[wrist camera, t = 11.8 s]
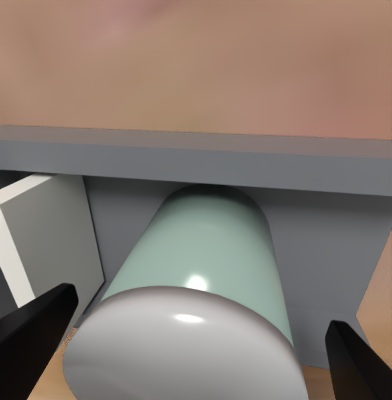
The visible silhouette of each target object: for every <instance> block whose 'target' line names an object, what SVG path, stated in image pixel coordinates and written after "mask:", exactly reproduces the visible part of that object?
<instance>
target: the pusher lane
mask: <svg viewBox="0 0 392 400" xmlns="http://www.w3.org/2000/svg"><path fill="white" fill-rule="evenodd" d="M37 172H46V173H60V174H75V175H82V176H83V181H84V186H85V191H86V195H87V200H88V205H89V210H90V215H91V219H92V224H93V229H94V234H95V239H96V243H97V248H98V253H99V258H100V263H101V267H102V272H103V277H104V282H103V283H102V285H101V286H100V288H99V289H98V291H97V292H96V294H95V295H94V297H93V298H92V300H91V301H90V303H89V304H88V305H87V307H86V308H85V310H84V311H83V313H82V314H81V316H80V317H79V319H78V320H77V322H76V323H75V325H74V326H73V327H74V328H79V327H80V325H81V324H82V322H83V320H84V319H85V317H86V316H87V315H88V313H89V312H90V311H91V309H92V308H93V307H95V306H96V305H97V304H98V303H99V302H100V300H101V299H102V297H103V296H104V294H105V292H106V291H107V289H108V288H109V286H110V284H111V283H112V281H113V280H114V278H115V276H116V275H117V273H118V272H119V270H120V268H121V267H122V265H123V264H124V262H125V260H126V259H127V257H128V256H129V254H130V252H131V251H132V249H133V248H134V246H135V244H136V243H137V241H138V240H139V238H140V236H141V235H142V233H143V232H144V230H145V228H146V227H147V225H148V224H149V222H150V220H151V219H152V217H153V216H154V214H155V212H156V211H157V209H158V208H159V206H160V205H161V203H162V202H163V201H164V200H165V199H166V198H167V197H168V196H169V195H171V194H172V193H173V192H175V191H177V190H179V189H181V188H183V187H186V186H189V185H193V184H199V183H207V184H222V185H226V186H229V187H232V188H234V189H237V190H239V191H241V192H243V193H244V194H246V195H247V196H249V197H250V198H251V199H253V200H254V201H255V202H256V203H257V204H258V205H259V207H260V208H261V209H262V210H263V212H264V214H265V215H266V217H267V220H268V222H269V226H270V230H271V235H272V240H273V245H274V250H275V255H276V260H277V265H278V270H279V275H280V280H281V285H282V290H283V295H284V300H285V306H286V311H287V316H288V321H289V326H290V331H291V336H292V341H293V346H294V349H295V350H296V352H297V354H298V357H299V359H300V362H301V365H304V366H310V367H317V368H323V369H329V370H330V368H329V362H328V357H327V351H326V346H325V335H326V332H327V329H328V327H329V324H330V321H331V320H340V321H345V322H347V323H348V324H349V325H350V326H351V327H352V328H353V329H354V330H355V331H356V333H357V334H358V335H359V336H360V337H361V338H362V339H363V340H364V341H365V342H366V343H367V344H368V345H369V346H370V344H369V342H368V340H367V338H366V336H365V334H364V332H363V330H362V328H361V326H360V324H359V321H358V319H357V317H356V313H357V311H358V308H359V306H360V303H361V301H362V299H363V296H364V294H365V292H366V289H367V287H368V284H369V282H370V280H371V277H372V275H373V272H374V270H375V268H376V265H377V263H378V260H379V258H380V256H381V253H382V251H383V249H384V246H385V244H386V241H387V239H388V237H389V234H390V232H391V229H392V140H373V139H347V138H321V137H296V136H270V135H244V134H218V133H192V132H167V131H141V130H115V129H89V128H63V127H38V126H12V125H0V189H2V188H4V187H7V186H9V185H11V184H13V183H15V182H18V181H20V180H22V179H24V178H26V177H28V176H31V175H33V174H35V173H37ZM16 309H18V306H17V304H16V301H15V299H14V297H13V294H12V292H11V290H10V288H9V285H8V283H7V281H6V279H5V276H4V274H3V272H2V269H1V267H0V319H1V318H2V317H4V316H6V315H8V314H9V313H11V312H13V311H14V310H16ZM370 347H371V346H370Z"/></svg>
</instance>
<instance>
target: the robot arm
mask: <svg viewBox="0 0 392 400" xmlns="http://www.w3.org/2000/svg"><path fill="white" fill-rule="evenodd" d="M78 303H79V298H78V295H77V291H76V288H75V285H74V284H71V283H61V284H59V285H58V286H56V287H54V288H52V289H51V290H49V291H47V292H45V293H44V294H42V295H40V296H39V297H37V298H35V299H33V300H32V301H30V302H28V303H27V304H25V305H23V306H21V307H20V308H18V309H16V310H14V311H13V312H11V313H9V314H8V315H6V316H4V317H2V318H1V319H0V400H27V398H28V397H29V395H30V393H31V392H32V390H33V388H34V387H35V385H36V383H37V382H38V380H39V378H40V377H41V375H42V373H43V371H44V370H45V368H46V366H47V365H48V363H49V361H50V360H51V358H52V356H53V355H54V353H55V351H56V349H57V348H58V346H59V344H60V342H61V340H62V338H63V336H64V334H65V331H66V329H67V327H68V325H69V323H70V321H71V319H72V317H73V315H74V313H75V311H76V308H77V306H78ZM325 346H326V351H327V357H328V362H329V368H330V373H331V379H332V384H333V390H334V395H335V399H336V400H392V370H391V369H390V367H389V366H388V365H387V364H386V363H385V362H384V361H383V360H382V359H381V358H380V357H379V356H378V355H377V354H376V353H375V352H374V351H373V349H372V348H371V347H370V346H369V345H368V344H367V343H366V342H365V341H364V340H363V339H362V338H361V337H360V336H359V335H358V334H357V333H356V331H355V330H354V329H353V328H352V327H351V326H350V325H349V324H348V323H347V322H345V321H340V320H331V321H330V324H329V327H328V329H327V332H326V335H325Z"/></svg>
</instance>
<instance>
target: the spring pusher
mask: <svg viewBox="0 0 392 400" xmlns="http://www.w3.org/2000/svg"><path fill="white" fill-rule="evenodd" d="M0 267H1V269H2V272H3V274H4V276H5V279H6V281H7V283H8V285H9V288H10V290H11V292H12V294H13V297H14V299H15V301H16V304H17V306H18V308H20V307H21V306H23V305H25V304H27V303H28V302H30V301H32V300H33V299H35V298H37V297H39V296H40V295H42V294H44V293H45V292H47V291H49V290H51V289H52V288H54V287H56V286H58V285H59V284H61V283H71V284H74V285H75V288H76V291H77V295H78V298H79V303H78V306H77V308H76V311H75V313H74V315H73V317H72V319H71V321H70V323H69V325H68V327H67V329H66V331H65V334H64V336H63V338H62V340H61V342H60V344H59V346H58V348H59V347H60V345H61V344H62V342H63V341H64V339H65V338H66V336H67V335H68V333H69V332H70V330H71V329H72V328H73V326H74V325H75V323H76V322H77V320H78V319H79V317H80V316H81V314H82V313H83V311H84V310H85V308H86V307H87V305H88V304H89V303H90V301H91V300H92V298H93V297H94V295H95V294H96V292H97V291H98V289H99V288H100V286H101V285H102V283H103V282H104V277H103V272H102V267H101V263H100V258H99V253H98V248H97V243H96V239H95V234H94V229H93V224H92V219H91V215H90V210H89V205H88V200H87V195H86V191H85V186H84V181H83V176H82V175H75V174H60V173H46V172H37V173H35V174H33V175H31V176H28V177H26V178H24V179H22V180H20V181H18V182H15V183H13V184H11V185H9V186H7V187H4V188H2V189H0ZM58 348H57V349H56V351H57V350H58ZM56 351H55V352H56Z"/></svg>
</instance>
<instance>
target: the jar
mask: <svg viewBox="0 0 392 400" xmlns="http://www.w3.org/2000/svg"><path fill="white" fill-rule="evenodd" d="M62 364H63V373H64V376H65V379H66V382H67V384H68V386H69V388H70V390H71V391H72V393H73V394H74V395H75V397H76V398H77V399H78V400H309V398H308V393H307V389H306V384H305V379H304V375H303V370H302V366H301V362H300V359H299V357H298V354H297V352H296V350H295V349H294V346H293V341H292V336H291V331H290V326H289V321H288V316H287V311H286V306H285V300H284V295H283V290H282V285H281V280H280V275H279V270H278V265H277V260H276V255H275V250H274V245H273V240H272V235H271V230H270V226H269V222H268V220H267V217H266V215H265V214H264V212H263V210H262V209H261V208H260V207H259V205H258V204H257V203H256V202H255V201H254V200H253V199H251V198H250V197H249V196H247V195H246V194H244V193H243V192H241V191H239V190H237V189H234V188H232V187H229V186H226V185H222V184H207V183H199V184H193V185H189V186H186V187H183V188H181V189H179V190H177V191H175V192H173V193H172V194H171V195H169V196H168V197H167V198H166V199H165V200H164V201H163V202H162V203H161V205H160V206H159V208H158V209H157V211H156V212H155V214H154V216H153V217H152V219H151V220H150V222H149V224H148V225H147V227H146V228H145V230H144V232H143V233H142V235H141V236H140V238H139V240H138V241H137V243H136V244H135V246H134V248H133V249H132V251H131V252H130V254H129V256H128V257H127V259H126V260H125V262H124V264H123V265H122V267H121V268H120V270H119V272H118V273H117V275H116V276H115V278H114V280H113V281H112V283H111V284H110V286H109V288H108V289H107V291H106V292H105V294H104V296H103V297H102V299H101V300H100V302H99V303H98V304H97V305H96V306H95V307H93V308H92V309H91V311H90V312H89V313H88V315H87V316H86V317H85V319H84V320H83V322H82V324H81V325H80V327H79V328H78V330H77V331H76V333H75V334H74V336H73V338H72V339H71V341H70V342H69V344H68V345H67V347H66V350H65V352H64V355H63V362H62Z"/></svg>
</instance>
